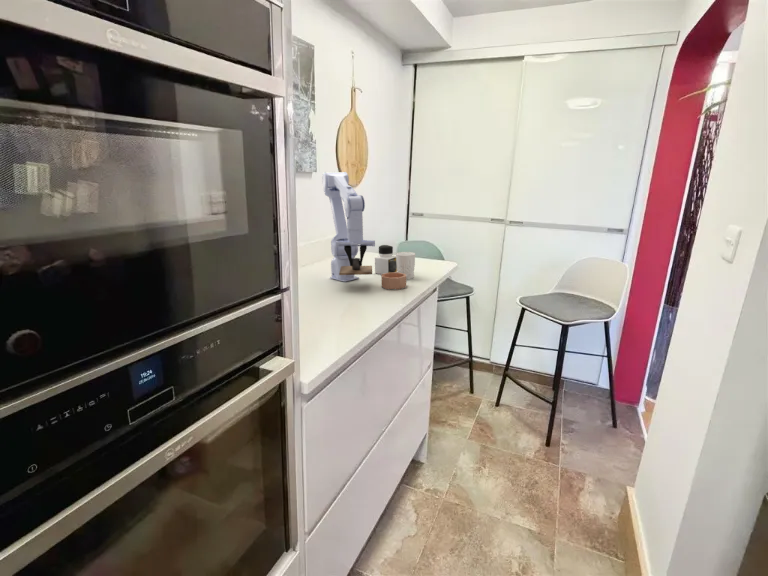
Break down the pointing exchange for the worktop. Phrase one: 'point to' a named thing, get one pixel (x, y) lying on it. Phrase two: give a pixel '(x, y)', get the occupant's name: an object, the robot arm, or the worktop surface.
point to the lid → (355, 268)
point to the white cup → (406, 263)
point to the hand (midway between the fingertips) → (356, 265)
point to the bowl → (393, 280)
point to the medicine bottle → (385, 260)
